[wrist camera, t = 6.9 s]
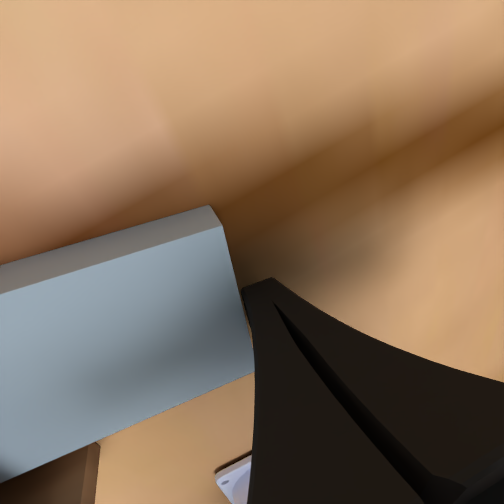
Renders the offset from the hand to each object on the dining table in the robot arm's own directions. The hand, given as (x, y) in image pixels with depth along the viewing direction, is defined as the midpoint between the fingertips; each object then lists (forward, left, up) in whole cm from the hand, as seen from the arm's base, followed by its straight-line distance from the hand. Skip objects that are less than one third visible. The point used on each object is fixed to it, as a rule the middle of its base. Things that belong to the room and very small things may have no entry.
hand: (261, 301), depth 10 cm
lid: (+1, +7, -1) cm, 7 cm away
